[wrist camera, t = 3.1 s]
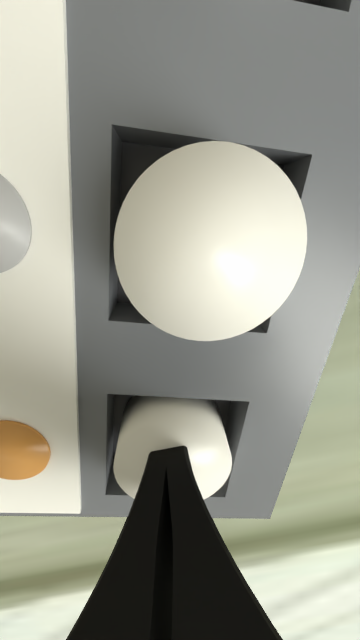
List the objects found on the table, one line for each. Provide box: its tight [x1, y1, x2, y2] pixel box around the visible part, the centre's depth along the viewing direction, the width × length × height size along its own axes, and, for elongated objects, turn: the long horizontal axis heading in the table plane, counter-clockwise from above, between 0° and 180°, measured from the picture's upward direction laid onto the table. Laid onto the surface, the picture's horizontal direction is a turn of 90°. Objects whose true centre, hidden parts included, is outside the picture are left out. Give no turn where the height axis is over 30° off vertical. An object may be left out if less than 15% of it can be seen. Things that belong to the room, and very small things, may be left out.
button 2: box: [114, 141, 307, 341], centre depth 7 cm, size 4×4×2 cm
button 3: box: [113, 395, 232, 499], centre depth 11 cm, size 4×4×2 cm
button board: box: [0, 0, 360, 519], centre depth 8 cm, size 14×24×2 cm, turn 174°
